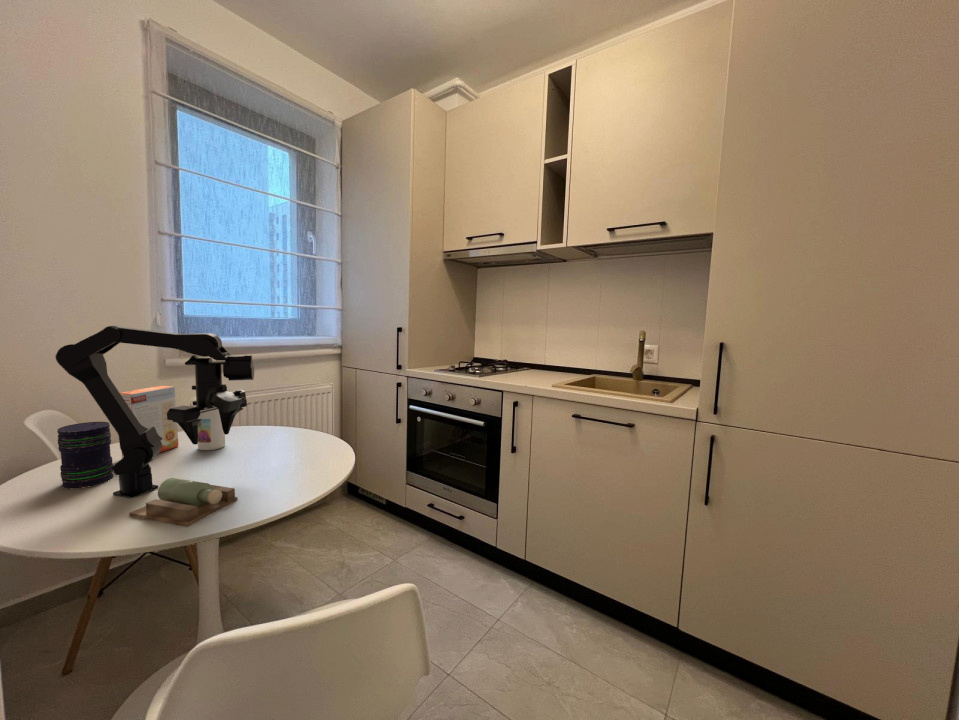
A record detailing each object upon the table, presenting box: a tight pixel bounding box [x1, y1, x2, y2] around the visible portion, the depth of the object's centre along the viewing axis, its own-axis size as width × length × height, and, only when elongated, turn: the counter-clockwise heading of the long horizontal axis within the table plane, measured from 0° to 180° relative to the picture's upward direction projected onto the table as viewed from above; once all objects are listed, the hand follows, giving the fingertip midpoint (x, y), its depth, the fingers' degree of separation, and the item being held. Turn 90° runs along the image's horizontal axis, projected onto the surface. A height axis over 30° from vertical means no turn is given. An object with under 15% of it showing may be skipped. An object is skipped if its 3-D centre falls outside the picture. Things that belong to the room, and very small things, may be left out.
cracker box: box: [119, 385, 179, 459], centre depth 125 cm, size 14×6×21 cm, turn 169°
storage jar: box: [57, 421, 114, 489], centre depth 103 cm, size 10×10×15 cm
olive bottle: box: [157, 477, 222, 507], centre depth 91 cm, size 5×5×14 cm
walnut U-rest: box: [129, 484, 238, 528], centre depth 91 cm, size 16×13×3 cm
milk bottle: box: [197, 406, 226, 451], centre depth 131 cm, size 8×8×20 cm
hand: (211, 439), depth 104 cm, fingers open, 9 cm apart
